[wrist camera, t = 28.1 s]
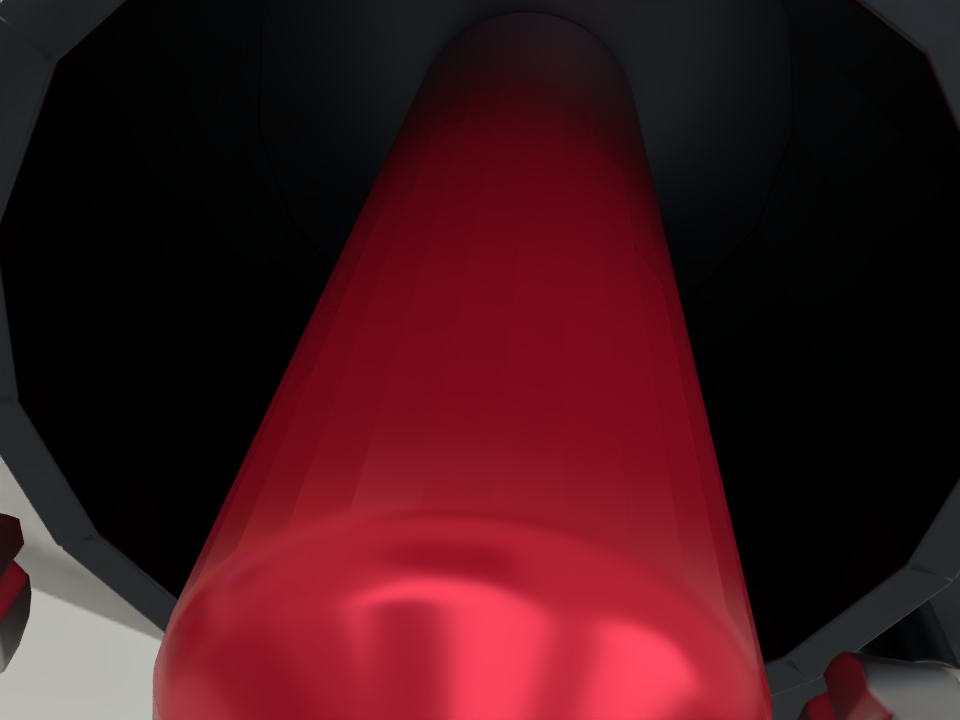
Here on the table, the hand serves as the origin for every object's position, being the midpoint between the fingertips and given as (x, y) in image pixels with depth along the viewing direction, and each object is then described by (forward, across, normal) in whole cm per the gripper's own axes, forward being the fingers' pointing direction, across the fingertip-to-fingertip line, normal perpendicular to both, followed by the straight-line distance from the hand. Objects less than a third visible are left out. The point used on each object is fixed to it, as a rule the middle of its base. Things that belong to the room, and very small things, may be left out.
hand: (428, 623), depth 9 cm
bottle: (+16, -1, 0) cm, 16 cm away
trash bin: (+16, -1, 0) cm, 16 cm away
